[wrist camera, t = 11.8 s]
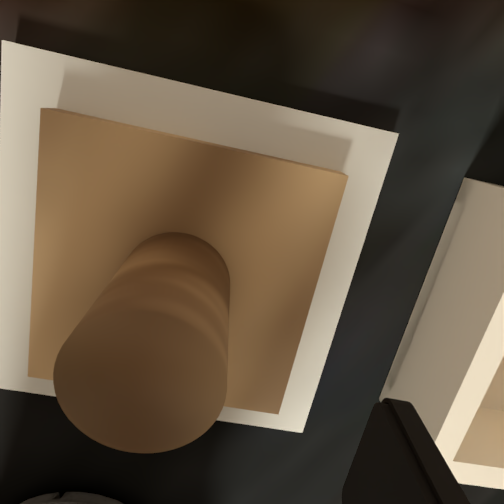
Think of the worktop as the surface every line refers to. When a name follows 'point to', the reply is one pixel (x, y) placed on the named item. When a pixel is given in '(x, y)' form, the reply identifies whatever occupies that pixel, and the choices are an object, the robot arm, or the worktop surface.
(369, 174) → the box
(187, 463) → the worktop surface
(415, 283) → the worktop surface
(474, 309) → the dish
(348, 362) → the worktop surface
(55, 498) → the beverage bottle
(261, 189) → the lid
